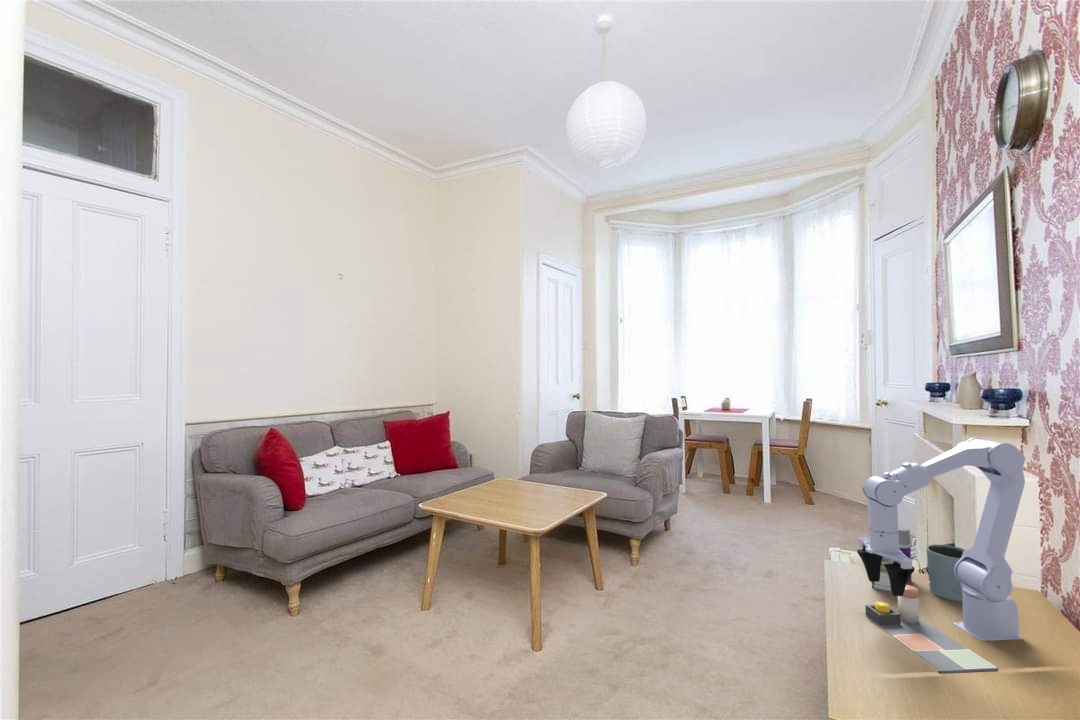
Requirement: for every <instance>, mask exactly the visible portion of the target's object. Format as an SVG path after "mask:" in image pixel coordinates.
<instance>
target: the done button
mask: <svg viewBox="0 0 1080 720" xmlns="http://www.w3.org/2000/svg"><path fill="white" fill-rule="evenodd" d="M874 605H875V610H876V611H878V612H879V613H890V608H891V605H890V604H889V603H887V602H883V601H875V602H874Z"/></svg>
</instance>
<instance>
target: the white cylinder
mask: <svg viewBox="0 0 1080 720" xmlns="http://www.w3.org/2000/svg"><path fill="white" fill-rule="evenodd" d="M919 595H920V591H919V589H918V588H917V587H916V586H913V585H910V584H906V587H905V590H904V594H903V596H897V609H898V610H897V612H898V613H899V614H900V619H901V620H902V621H904V622H907V623H911V624H917V623H919V618H920V613H919V611H920V610H919Z"/></svg>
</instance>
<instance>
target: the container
mask: <svg viewBox="0 0 1080 720" xmlns="http://www.w3.org/2000/svg"><path fill="white" fill-rule="evenodd" d="M898 536H899V550H900V551H901V552H902V553H903V554H904V555H905V556H906V557H908V558H909V559H911V560H912V554H911V553H912V550H911V549H912V548H911V547H912V545H911V531H910V528H908V527H906V526H902V525H898ZM907 583H912V575H911V576H910V577H909V579H908V581H907Z"/></svg>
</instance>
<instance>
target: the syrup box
mask: <svg viewBox="0 0 1080 720" xmlns="http://www.w3.org/2000/svg"><path fill="white" fill-rule="evenodd" d="M884 564H893V562H892V561H890V560H889V559H887V558H885V557H883V558H882V562H881V568H880V580H879V581H878V582H871V588H872V589H876V590H882V591H889V592H891V586H890V579H889V575H888V573H887V570H886V568H885V566H884Z"/></svg>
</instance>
